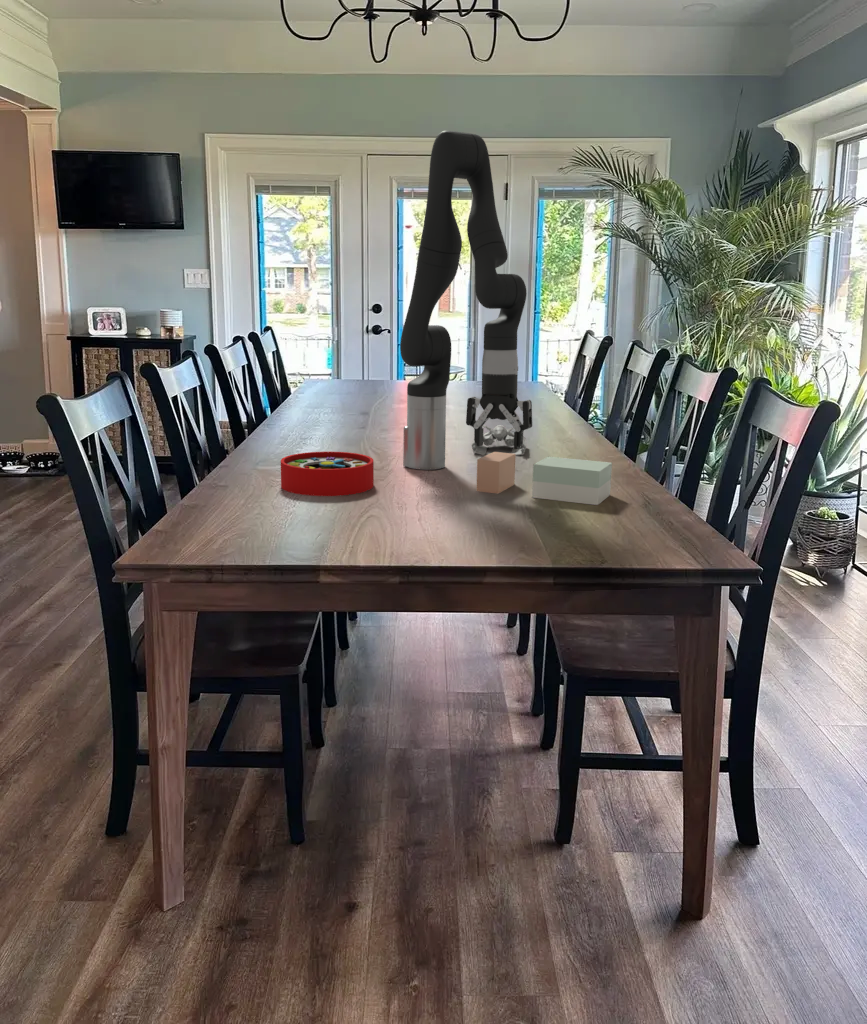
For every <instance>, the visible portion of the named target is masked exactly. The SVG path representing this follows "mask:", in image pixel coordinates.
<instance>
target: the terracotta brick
mask: <svg viewBox="0 0 867 1024" xmlns="http://www.w3.org/2000/svg"><path fill="white" fill-rule="evenodd" d="M476 461H477V462H476V463H477V466H476V492H479V493H480V492H481V493H490V494H491V493H492V494H498V495H499V494H500V493H503V492H504V491H506V490H507V489H509V488H511V487H513V486H514V485H515V479H516V454H512V452H511V453H510V452H509V453H508V452H500V451H493V452H491V453H489V454H485V455H483V456H482V457H479V458H477V459H476Z"/></svg>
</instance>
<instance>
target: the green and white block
mask: <svg viewBox="0 0 867 1024" xmlns="http://www.w3.org/2000/svg"><path fill="white" fill-rule="evenodd" d="M612 470H613V462H609V461H608V462H607V461H599V460H589V459H588V460H587V459H579V458H568V457H567V458H566V457H559V456H546V457H544V458H543V459H541V460H539V461H537V462H536V463H533V467H532V487H531V489H532V491H531V492H532V493H531V498H532V499H533V498H535V499H543V500H551V501H557V502H558V501H559V502H569V503H576V504H577V503H578V504H585V505H593V506H594V505H595V506H599V505H600V504H601V503H602V502H603V501H605V500H606V499H607V498H608V497H610V496H611V485H612Z"/></svg>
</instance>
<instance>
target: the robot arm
mask: <svg viewBox="0 0 867 1024" xmlns="http://www.w3.org/2000/svg"><path fill="white" fill-rule="evenodd" d="M428 174H429V175H428V189H427V196H426V206H425V212H424V221H423V227H422V232H421V238H420V241H419V249H418V254H417V260H416V261H417V262H416V266H415V267H416V268H415V269H416V270H415V275H414V281H413V286H412V291H411V296H410V301H409V306H408V309H407V313H406V316H405V320H404V324H403V327H402V332H401V337H400V343H399V344H400V345H399V350H400V356H401V359H402V361H403V363H404V364H406V365H407V366H409V367H423V369H422V370H423V371H422V372H421V373H420V374H419V375H418V376H417V377H416V378H414V379H412V380H411V381H409V382H408V383H407V387H406V388H407V389H406V390H407V391H406V394H407V395H406V399H407V400H406V425H405V426H403V441H402V442H403V445H402V446H403V450H402V451H403V452H402V454H403V457H402V458H403V459H402V460H403V463H402V464H403V467H407V468H410V469H413V470H423V471H424V470H426V471H429V470H440V469H443V468H445V467H446V435H447V434H446V432H447V431H446V430H447V429H446V427H447V426H446V425H447V418H446V416H447V389H448V385H449V383H450V374H451V372H450V371H451V362H452V341H451V336H450V333H449V331H448V329H447V328H446V327H445V326H443V325H437V324H436V325H433V324H432V325H431V324H430V321H431V317H432V314H433V311H434V310H435V309H434V308H435V307H436V306H437V304H438V302H439V301H440V299H441V298H442V296H443V295H444V294H445V292H446V291H447V289H448V288H449V287H450V286H451V284H452V282H453V281H454V279H455V277H456V275H457V273H458V269H459V264H460V258H461V253H462V247H463V241H462V235H461V231H460V228H459V225H458V223H457V219H456V217H455V214H454V210H453V205H452V203H453V202H452V198H453V197H452V196H453V185H454V181H455V179H462V180H466V181H467V183H468V185H469V187H470V191H471V194H472V202H471V207H470V212H469V216H468V220H467V224H466V232H467V238H468V242H469V247H470V250H471V252H472V256H473V259H474V276H475V277H474V282H475V283H474V289H475V291H474V293H475V297H476V298H477V301H478V302H479V304H480V305H481V306H483V307H484V308H485V309H488V310H489V309H490V310H493V309H494V310H495V309H499V310H500V311H499V314H498V317H497V318H496V319H493V320H490V321H487V322H486V323H485V324H484V327H483V353H482V360H481V361H482V362H481V366H482V367H481V398H477V397H476V396H471V397H469V398H467V400H466V401H467V402H466V414H465V415H466V418H465V424H466V425H467V426H470V427H472V428H473V431H474V434H473V435H474V436H473V439H474V441H475V443H477V446H484V442H483V434H484V427H482V426H483V425H485V424H486V423H487V421H488V420H496V419H498V420H501V421H505V420H506V421H508V423H509V424H510V425H511V426H512V428H513V427H514V429H513V430H515V431H514V432H513V434H514V445H513V448H514V449H519V448H520V446H522V444H523V436H524V431H525V430H526V431H527V430H529V429H531V428H532V427H533V409H532V408H533V406H532V404H533V402H532V400H531V399H526V400H519V399H518V375H519V374H518V373H519V372H518V371H519V359H518V357H519V356H518V350H517V349H518V330H519V327H520V326H519V325H520V322H521V320H522V315H523V311H524V308H525V304H526V300H527V287H526V284H525V281H524V279H523V278H522V277H521V276H520V275H518V274H516V273H498V272H497V268H499V267H501V266H503V265H505V263H507V260H508V255H509V254H508V253H509V252H508V249H507V246H506V242H505V239H504V236H503V232H502V229H501V226H500V222H499V219H498V214H497V209H496V208H497V207H496V201H495V200H496V199H495V194H494V183H493V177H492V168H491V161H490V155H489V150H488V146H487V144H486V142H485V140H484V138H483V137H481V136H480V135H478V134H476V133H475V134H474V133H469V132H462V131H455V130H443V131H441V132H439V133H438V134H437V136H436V137H435V139H434V142H433V145H432V148H431V153H430V161H429V173H428ZM479 406H480V407H481V408H482V409H483V411H482V412H481V414H480V415H479V417H478V418H477V419H476V417H477V416H476V415H477V408H478V407H479ZM518 407H519V409H520V411H521V412H522V421H521V420H520V417H519V415H518V413H517V412H516V410H517V408H518Z"/></svg>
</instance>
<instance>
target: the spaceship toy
mask: <svg viewBox="0 0 867 1024" xmlns="http://www.w3.org/2000/svg"><path fill="white" fill-rule="evenodd" d="M482 428H484V429H486V430H488V432H486V433H483V445H482V446H477V443H475V441H474V438H473V440H472V442H471V448H472V452H473V453H474V454H478V455H482V456H486V455H487V454H486V453H487V449H488V446H491V445H493V444H494V443H495V442H497V441H498V442H503V443H504V444H505V446H507V447H512V446H513V448H512V450H511V453H512V454H516V456H517V457H518V456H523V455H524V454H525V452H526V449H527V438H526V436H524V435H523V444H522V446H520V448H519V449H514V432H511V431H513V430H515V429H514V427H513V426H512V427H511V428H508V429H507V427H506V426H504V425H503V424H498V425H495V426H494V427H493V429H492V427H490V426H487V425H485V424H484V425H483V426H482ZM484 445H485V446H484Z"/></svg>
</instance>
